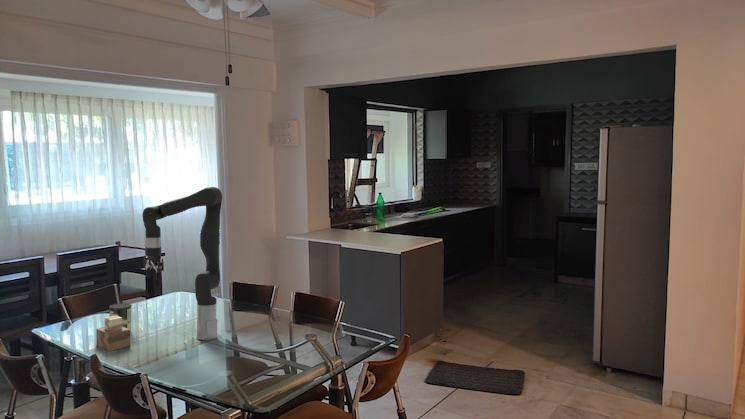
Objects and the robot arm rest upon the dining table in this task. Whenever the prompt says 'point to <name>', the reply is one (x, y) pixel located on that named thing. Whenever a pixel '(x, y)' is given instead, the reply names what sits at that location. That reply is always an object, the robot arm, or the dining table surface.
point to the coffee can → (122, 313)
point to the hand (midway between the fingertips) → (153, 278)
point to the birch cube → (113, 323)
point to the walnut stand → (113, 338)
